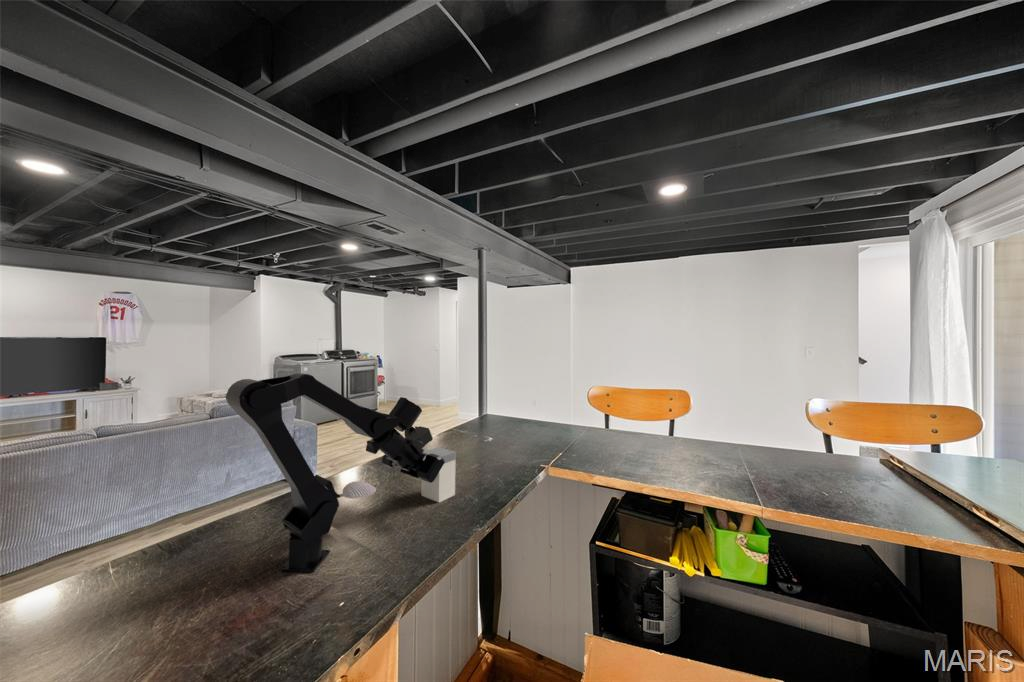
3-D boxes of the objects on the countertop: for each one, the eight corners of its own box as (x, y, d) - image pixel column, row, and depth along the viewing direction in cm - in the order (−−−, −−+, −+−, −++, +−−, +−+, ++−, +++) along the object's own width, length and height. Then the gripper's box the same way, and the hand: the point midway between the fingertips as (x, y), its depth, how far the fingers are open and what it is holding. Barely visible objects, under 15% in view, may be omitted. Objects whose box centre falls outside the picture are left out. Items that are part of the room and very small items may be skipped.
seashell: (352, 477, 109) (382, 473, 107) (355, 496, 108) (386, 491, 107) (329, 490, 99) (363, 486, 97) (333, 511, 98) (366, 506, 97)
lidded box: (438, 502, 97) (439, 457, 96) (420, 495, 101) (421, 452, 101) (455, 494, 102) (456, 451, 101) (437, 488, 106) (438, 447, 106)
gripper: (439, 424, 88) (469, 457, 98) (391, 414, 99) (423, 444, 108) (412, 466, 82) (448, 497, 91) (365, 450, 93) (400, 479, 102)
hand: (429, 477), depth 98 cm, fingers closed, pressing on lidded box
